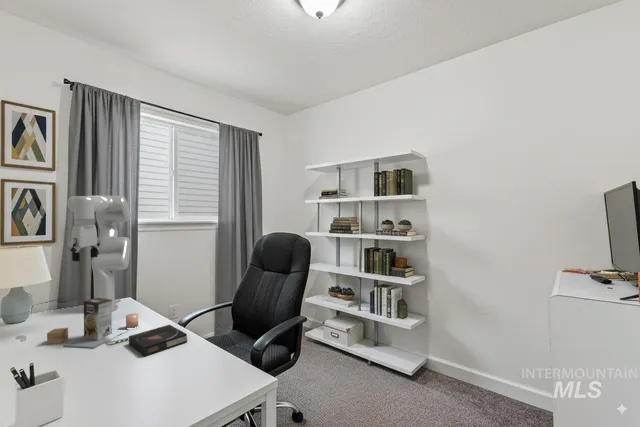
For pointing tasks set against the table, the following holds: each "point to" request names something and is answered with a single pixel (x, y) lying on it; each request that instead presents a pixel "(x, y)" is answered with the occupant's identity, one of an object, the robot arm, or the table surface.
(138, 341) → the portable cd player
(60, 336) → the walnut block
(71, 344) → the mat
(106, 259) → the robot arm
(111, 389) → the table surface
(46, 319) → the table surface
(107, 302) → the coffee box
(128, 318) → the terracotta cylinder
